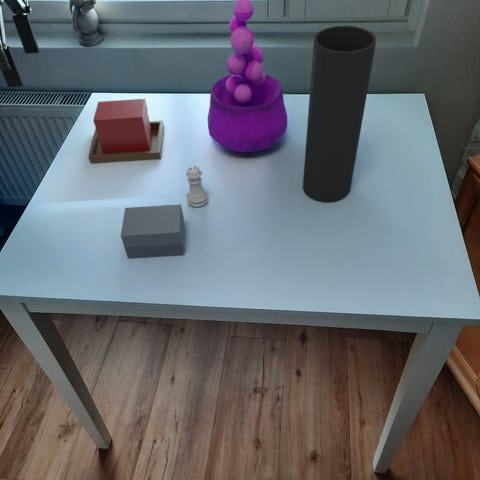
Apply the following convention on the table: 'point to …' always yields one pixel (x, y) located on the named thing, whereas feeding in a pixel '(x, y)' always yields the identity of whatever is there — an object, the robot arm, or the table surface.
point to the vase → (336, 109)
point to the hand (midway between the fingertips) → (25, 68)
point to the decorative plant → (246, 94)
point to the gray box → (153, 231)
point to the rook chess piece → (196, 188)
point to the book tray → (153, 154)
